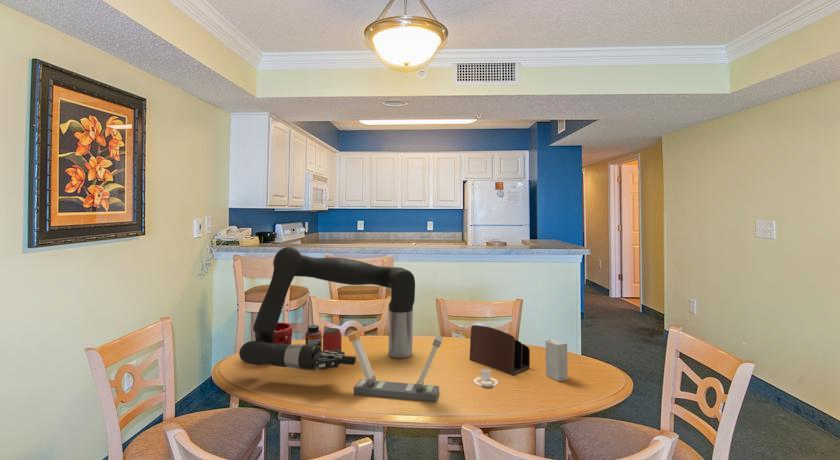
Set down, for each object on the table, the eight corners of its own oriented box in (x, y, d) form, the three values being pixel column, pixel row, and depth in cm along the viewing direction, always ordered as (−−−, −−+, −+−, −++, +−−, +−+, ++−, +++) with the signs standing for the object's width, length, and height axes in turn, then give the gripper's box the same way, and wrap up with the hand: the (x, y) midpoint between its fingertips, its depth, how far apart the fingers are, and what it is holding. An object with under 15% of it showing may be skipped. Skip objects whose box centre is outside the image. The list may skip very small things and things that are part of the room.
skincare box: (568, 379, 139) (568, 343, 138) (557, 382, 137) (558, 345, 136) (554, 373, 144) (555, 338, 144) (544, 375, 142) (545, 339, 142)
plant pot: (274, 350, 165) (273, 320, 165) (299, 355, 160) (299, 324, 159) (247, 361, 154) (246, 328, 153) (274, 367, 148) (273, 333, 147)
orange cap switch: (371, 381, 131) (352, 332, 131) (377, 379, 130) (358, 329, 131) (367, 387, 127) (347, 335, 127) (373, 385, 126) (354, 333, 127)
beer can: (337, 367, 148) (337, 333, 148) (319, 365, 150) (319, 332, 149) (344, 360, 155) (344, 328, 154) (327, 359, 156) (327, 327, 156)
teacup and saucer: (491, 391, 130) (491, 378, 130) (468, 385, 135) (468, 372, 134) (502, 381, 138) (502, 369, 138) (479, 376, 142) (479, 364, 142)
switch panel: (360, 385, 133) (360, 378, 133) (439, 392, 128) (439, 385, 128) (353, 394, 126) (353, 386, 126) (435, 401, 122) (435, 394, 122)
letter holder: (512, 376, 142) (513, 334, 141) (469, 360, 157) (469, 322, 156) (530, 369, 148) (530, 329, 148) (486, 354, 163) (487, 318, 163)
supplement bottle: (307, 353, 163) (307, 324, 162) (322, 352, 163) (322, 323, 163) (304, 358, 157) (304, 328, 156) (320, 358, 157) (320, 328, 157)
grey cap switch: (416, 383, 128) (436, 334, 126) (422, 386, 128) (443, 337, 126) (413, 388, 124) (434, 338, 122) (420, 392, 124) (441, 341, 122)
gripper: (292, 351, 126) (347, 355, 123) (312, 338, 139) (362, 342, 136) (292, 376, 126) (347, 381, 123) (312, 361, 139) (362, 365, 136)
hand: (355, 360), depth 129 cm, fingers closed
